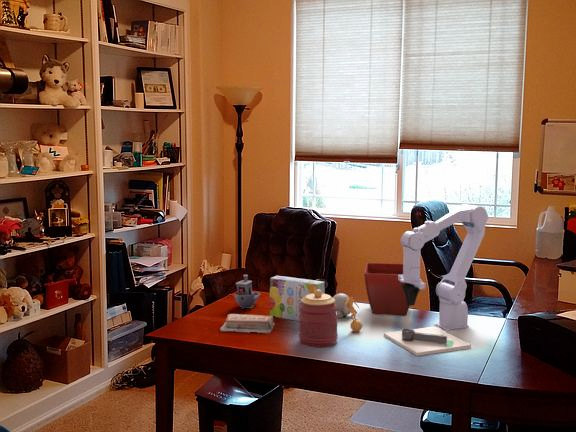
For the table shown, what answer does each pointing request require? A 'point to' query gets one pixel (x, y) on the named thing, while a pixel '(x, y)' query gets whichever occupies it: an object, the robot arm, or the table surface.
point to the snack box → (290, 295)
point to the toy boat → (245, 293)
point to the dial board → (424, 346)
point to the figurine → (353, 315)
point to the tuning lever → (422, 336)
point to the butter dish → (248, 323)
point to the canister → (318, 320)
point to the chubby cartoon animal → (341, 304)
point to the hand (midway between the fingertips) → (410, 305)
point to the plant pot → (385, 289)
